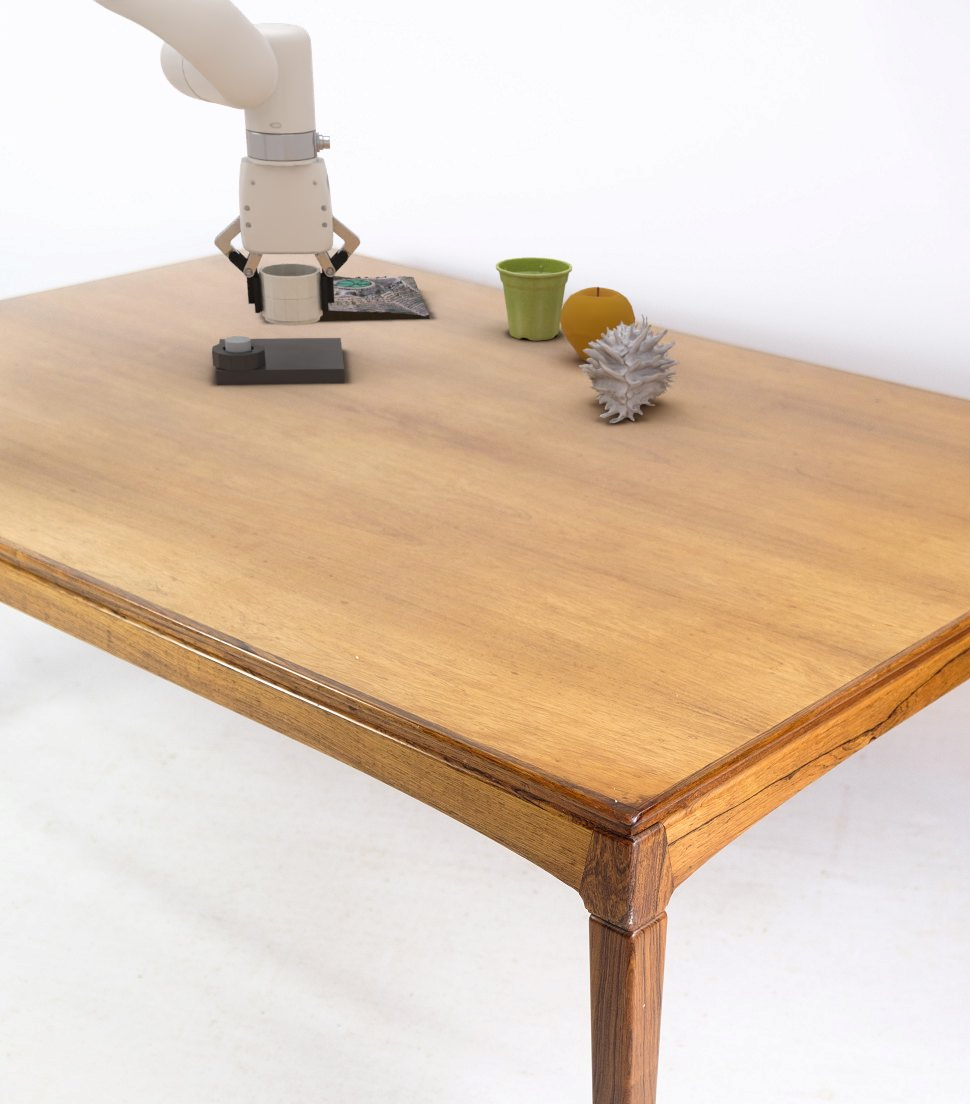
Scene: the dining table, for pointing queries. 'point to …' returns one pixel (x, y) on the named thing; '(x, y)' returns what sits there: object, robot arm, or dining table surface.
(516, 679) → the dining table surface
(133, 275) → the dining table surface
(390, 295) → the terrain model
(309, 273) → the white cup
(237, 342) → the button
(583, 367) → the spiky white shell
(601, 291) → the apple
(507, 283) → the plant pot
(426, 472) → the dining table surface
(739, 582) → the dining table surface
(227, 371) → the scale
